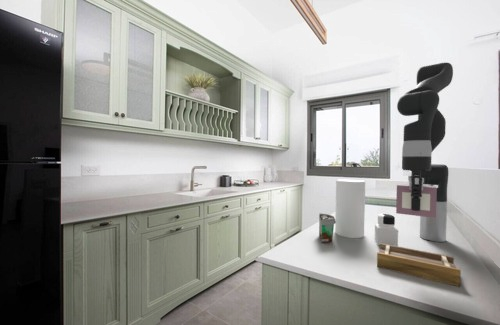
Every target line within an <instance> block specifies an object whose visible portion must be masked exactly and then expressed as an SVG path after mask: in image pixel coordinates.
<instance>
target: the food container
mask: <svg viewBox="0 0 500 325" xmlns="http://www.w3.org/2000/svg"><path fill="white" fill-rule="evenodd" d="M318 218H319V222H318V223H319V226H318V228H319V231H318V237H319V240H320V243H321V244H330V243H332V242H333V238H334V229H335V228H334V227H335V223H336V221H335V218H336V217H335V216H334V215H331V214H327V213H321V212H320V213H319V217H318Z"/></svg>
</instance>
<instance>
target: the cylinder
mask: <svg viewBox="0 0 500 325" xmlns="http://www.w3.org/2000/svg"><path fill="white" fill-rule="evenodd" d="M335 184H336V185H335V217H334V218H335V221H336V223H335V224H334V227H335V228H334V229H335V230H334V233H335V234H336V235H338V236H340V237H343V238H351V239H361V238H364V237H365V219H366V218H365V216H366V215H365V212H366V205H365V204H366V181H365V180H360V179H359V180H358V179H345V178H344V179H336V181H335Z"/></svg>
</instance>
